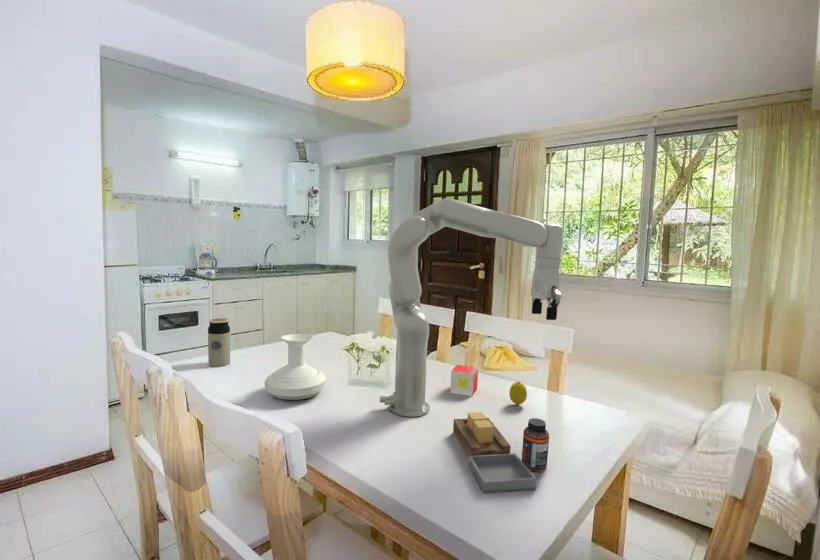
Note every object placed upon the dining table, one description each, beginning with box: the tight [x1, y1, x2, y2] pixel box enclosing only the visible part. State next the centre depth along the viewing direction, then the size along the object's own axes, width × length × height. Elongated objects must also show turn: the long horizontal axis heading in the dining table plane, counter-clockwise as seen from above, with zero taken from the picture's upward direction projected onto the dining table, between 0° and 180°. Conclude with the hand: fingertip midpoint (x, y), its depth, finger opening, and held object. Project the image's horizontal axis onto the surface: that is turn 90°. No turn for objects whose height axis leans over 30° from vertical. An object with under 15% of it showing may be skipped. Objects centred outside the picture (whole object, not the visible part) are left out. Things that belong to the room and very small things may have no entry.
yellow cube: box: [467, 411, 488, 434], centre depth 115 cm, size 4×4×4 cm
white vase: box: [264, 333, 327, 401], centre depth 143 cm, size 20×20×19 cm
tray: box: [467, 452, 537, 494], centre depth 98 cm, size 12×11×2 cm
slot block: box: [452, 417, 512, 459], centre depth 112 cm, size 10×16×4 cm, turn 10°
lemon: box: [509, 381, 528, 406], centre depth 140 cm, size 6×6×8 cm
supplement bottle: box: [521, 417, 550, 473], centre depth 103 cm, size 6×6×11 cm
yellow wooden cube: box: [473, 420, 494, 443], centre depth 110 cm, size 4×4×4 cm
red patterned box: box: [449, 364, 479, 397], centre depth 151 cm, size 8×8×8 cm
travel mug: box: [207, 317, 231, 368], centre depth 170 cm, size 8×8×18 cm
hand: (543, 316), depth 137 cm, fingers open, 9 cm apart
